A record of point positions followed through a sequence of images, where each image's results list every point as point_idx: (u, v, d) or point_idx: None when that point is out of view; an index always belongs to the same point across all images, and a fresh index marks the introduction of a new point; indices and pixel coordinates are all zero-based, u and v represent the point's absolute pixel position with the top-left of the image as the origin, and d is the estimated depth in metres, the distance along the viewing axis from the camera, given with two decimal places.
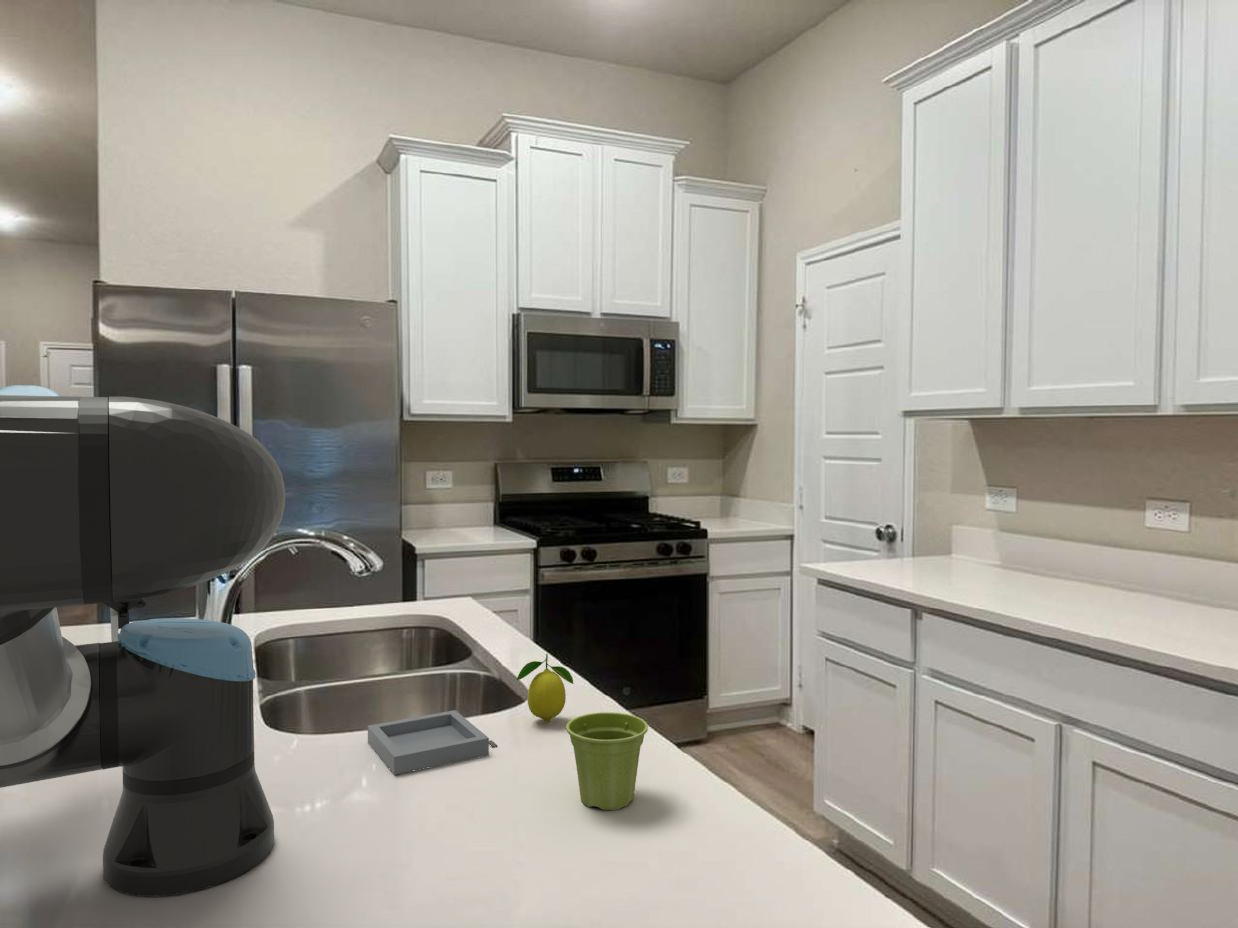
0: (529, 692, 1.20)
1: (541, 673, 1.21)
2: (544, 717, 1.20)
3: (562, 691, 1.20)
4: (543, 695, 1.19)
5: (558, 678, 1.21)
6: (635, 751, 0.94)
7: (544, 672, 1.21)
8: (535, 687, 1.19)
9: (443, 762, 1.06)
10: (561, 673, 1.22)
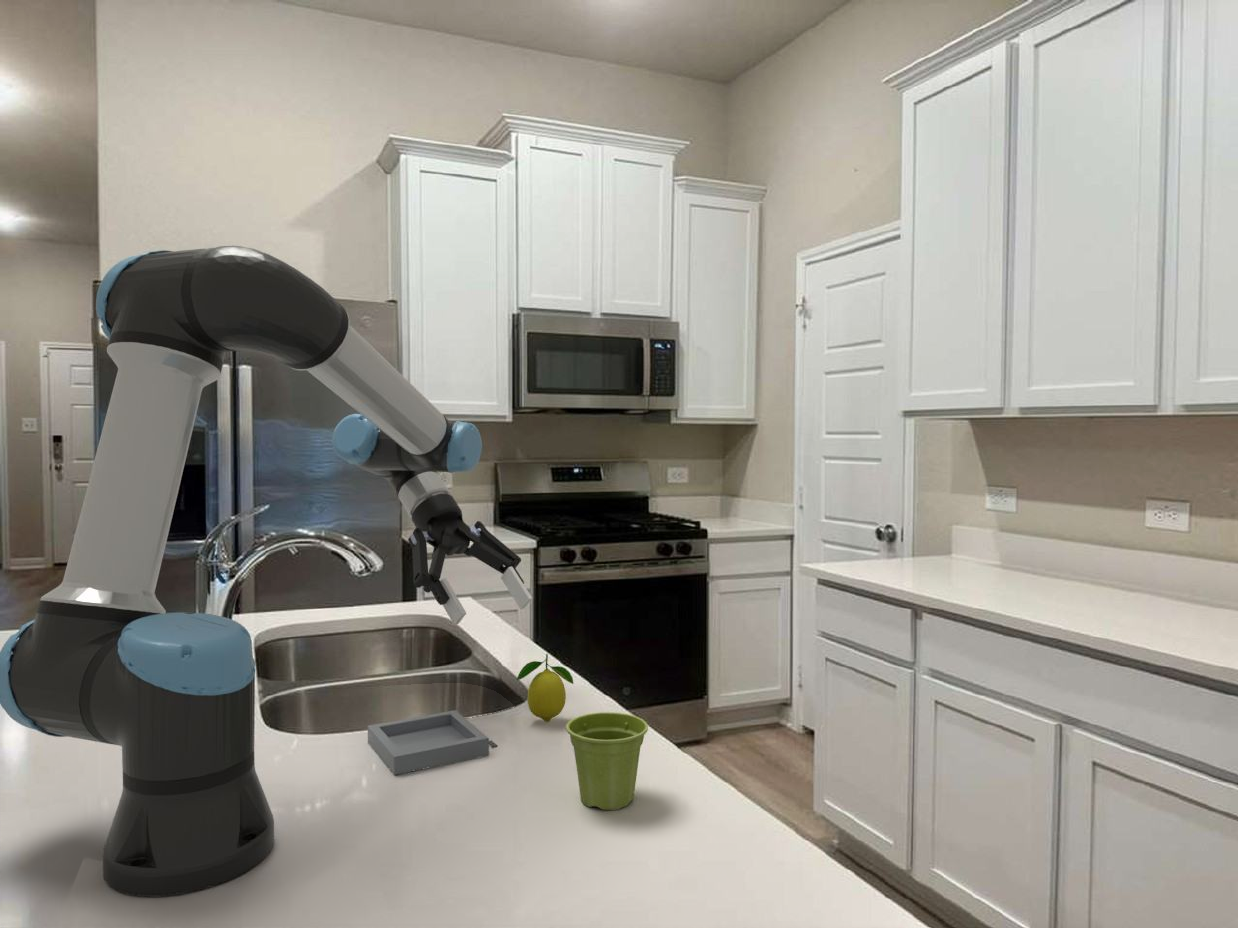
0: (529, 692, 1.20)
1: (541, 673, 1.21)
2: (544, 717, 1.20)
3: (562, 691, 1.20)
4: (543, 695, 1.19)
5: (558, 678, 1.21)
6: (635, 751, 0.94)
7: (544, 672, 1.21)
8: (535, 687, 1.19)
9: (443, 762, 1.06)
10: (561, 673, 1.22)
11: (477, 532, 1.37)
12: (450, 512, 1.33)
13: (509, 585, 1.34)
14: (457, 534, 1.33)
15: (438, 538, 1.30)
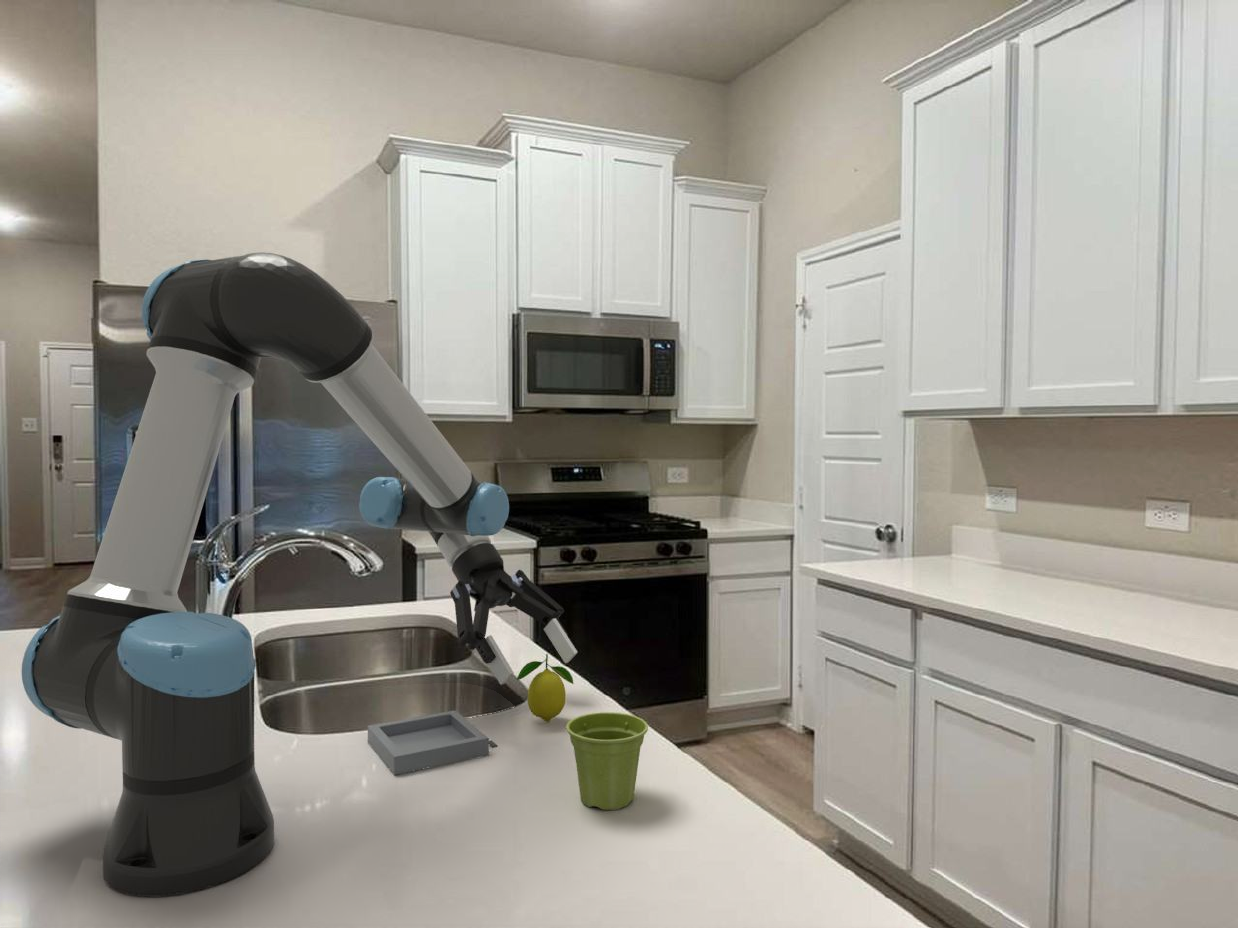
0: (529, 692, 1.20)
1: (541, 673, 1.21)
2: (544, 717, 1.20)
3: (562, 691, 1.20)
4: (543, 695, 1.19)
5: (558, 678, 1.21)
6: (635, 751, 0.94)
7: (544, 672, 1.21)
8: (535, 687, 1.19)
9: (443, 762, 1.06)
10: (561, 673, 1.22)
11: (518, 581, 1.33)
12: (492, 563, 1.28)
13: (553, 637, 1.30)
14: (499, 585, 1.29)
15: (480, 590, 1.26)
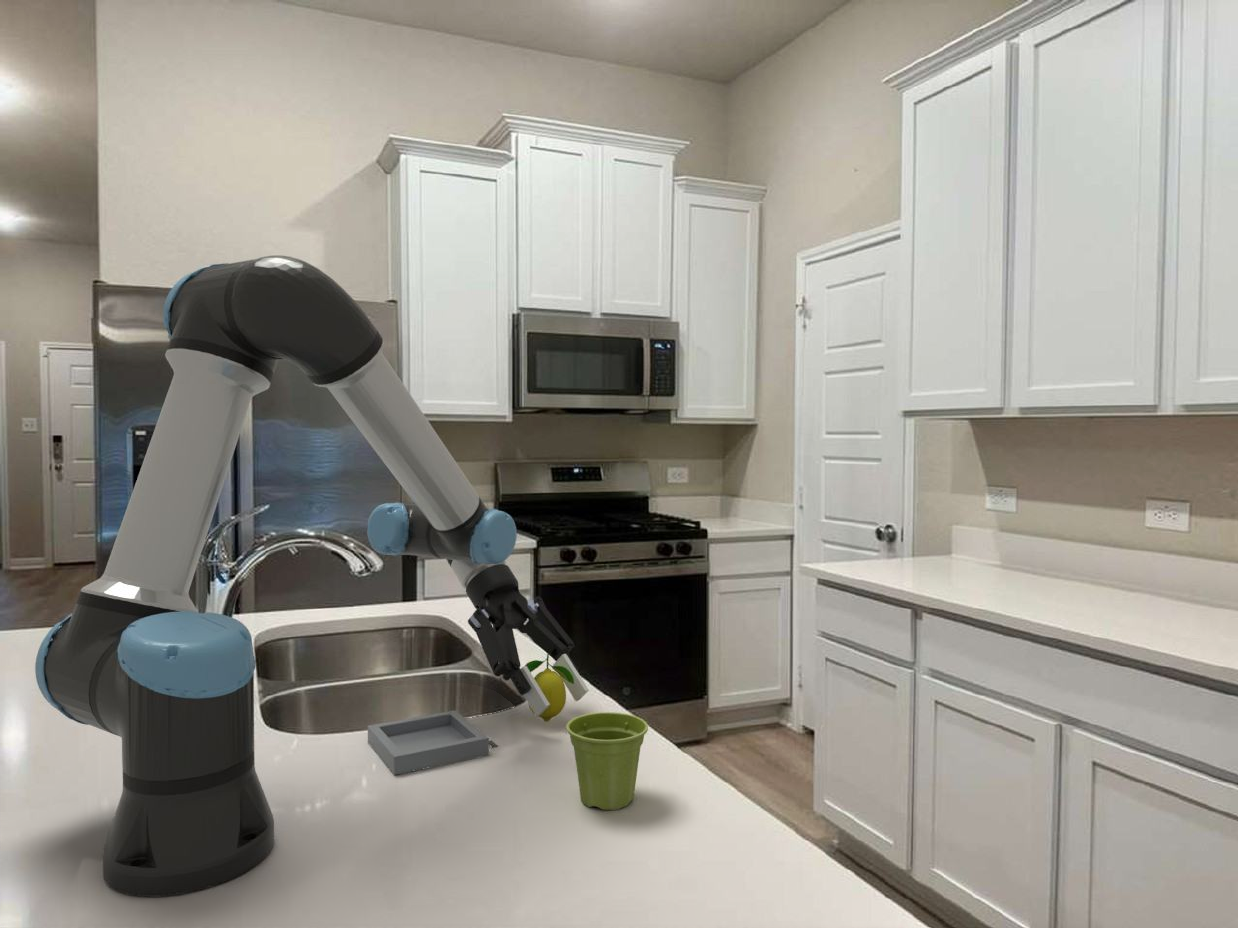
0: None
1: (542, 672, 1.21)
2: (544, 716, 1.20)
3: (563, 691, 1.20)
4: None
5: (559, 678, 1.21)
6: (635, 751, 0.94)
7: (545, 671, 1.21)
8: None
9: (443, 762, 1.06)
10: (562, 673, 1.22)
11: (534, 607, 1.29)
12: (507, 585, 1.25)
13: None
14: (513, 607, 1.25)
15: (495, 613, 1.22)
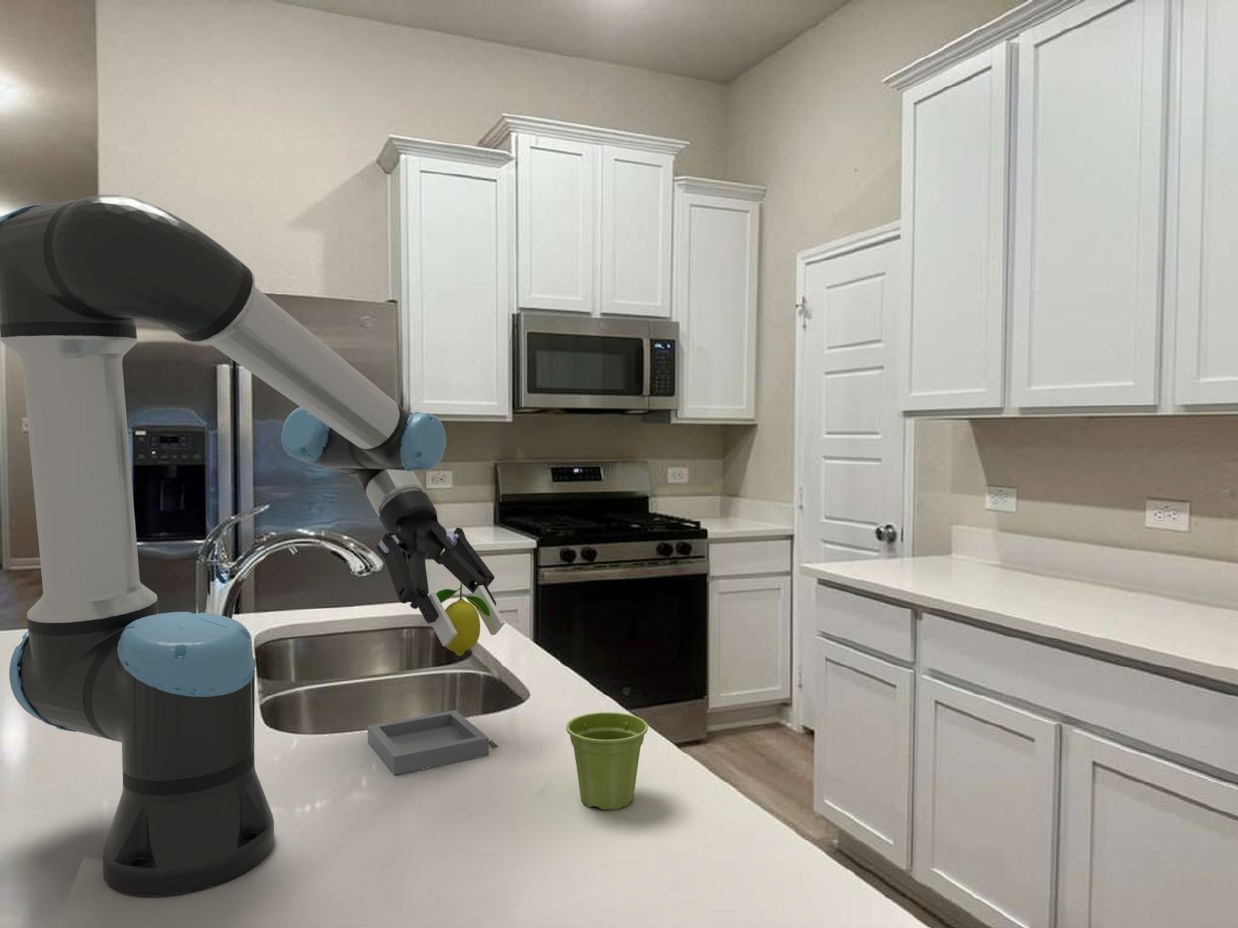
0: None
1: (454, 602, 1.13)
2: (455, 649, 1.12)
3: (476, 622, 1.12)
4: (454, 624, 1.11)
5: (472, 608, 1.13)
6: (635, 751, 0.94)
7: (458, 601, 1.13)
8: None
9: (443, 762, 1.06)
10: (477, 604, 1.14)
11: (453, 538, 1.21)
12: (422, 512, 1.18)
13: None
14: (429, 535, 1.18)
15: (407, 540, 1.15)
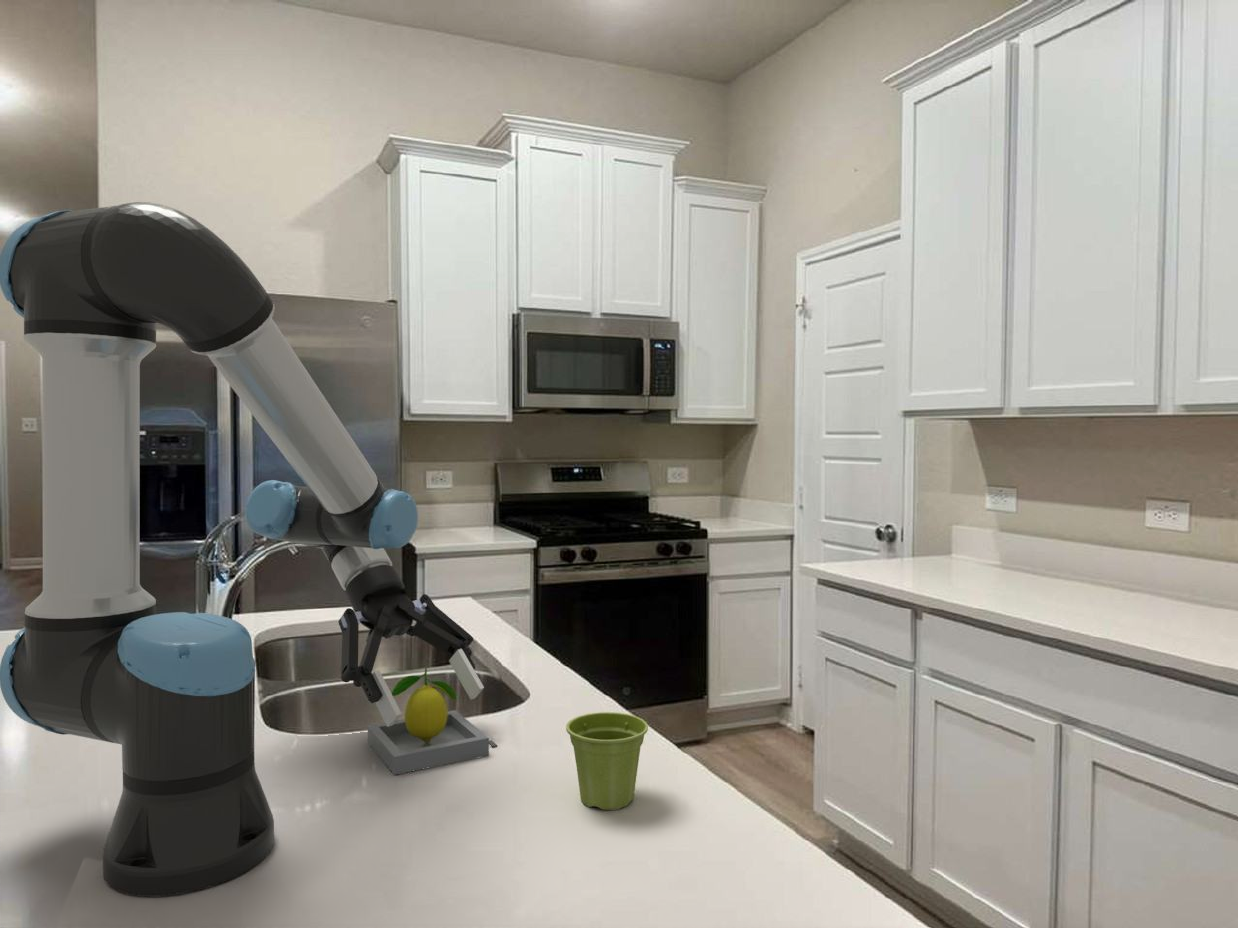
0: (406, 710, 1.10)
1: (419, 689, 1.10)
2: (422, 737, 1.09)
3: (442, 708, 1.10)
4: (419, 713, 1.08)
5: (438, 694, 1.10)
6: (635, 751, 0.94)
7: (422, 688, 1.10)
8: (411, 704, 1.09)
9: (443, 762, 1.06)
10: (443, 688, 1.12)
11: (422, 607, 1.19)
12: (389, 587, 1.15)
13: (458, 670, 1.16)
14: (397, 612, 1.15)
15: (373, 619, 1.12)
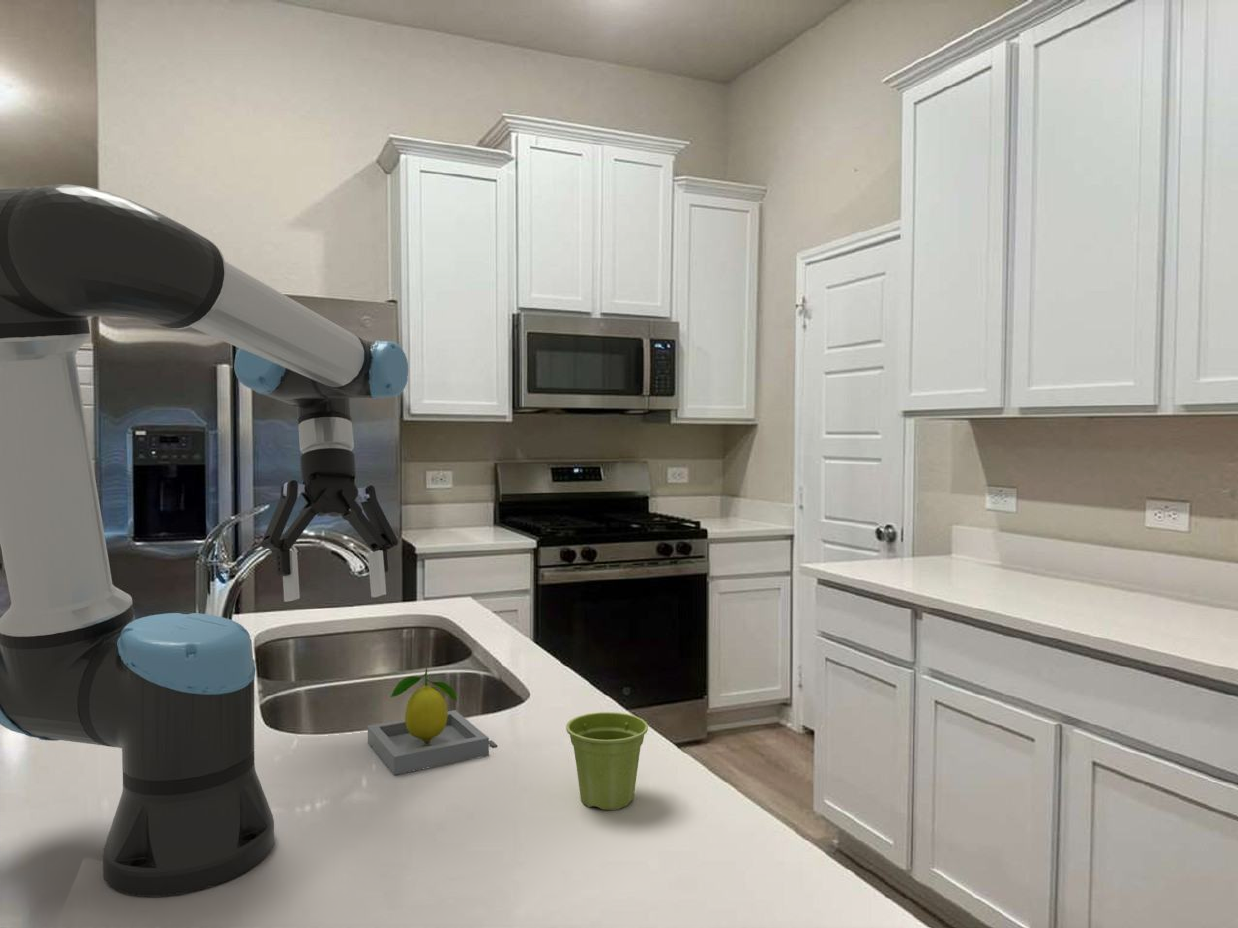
0: (406, 710, 1.10)
1: (420, 689, 1.10)
2: (422, 737, 1.09)
3: (442, 709, 1.10)
4: (419, 713, 1.08)
5: (438, 695, 1.10)
6: (635, 751, 0.94)
7: (423, 688, 1.10)
8: (411, 705, 1.09)
9: (443, 762, 1.06)
10: (443, 689, 1.11)
11: (364, 497, 1.24)
12: (339, 473, 1.19)
13: (371, 567, 1.24)
14: (338, 497, 1.21)
15: (313, 497, 1.18)
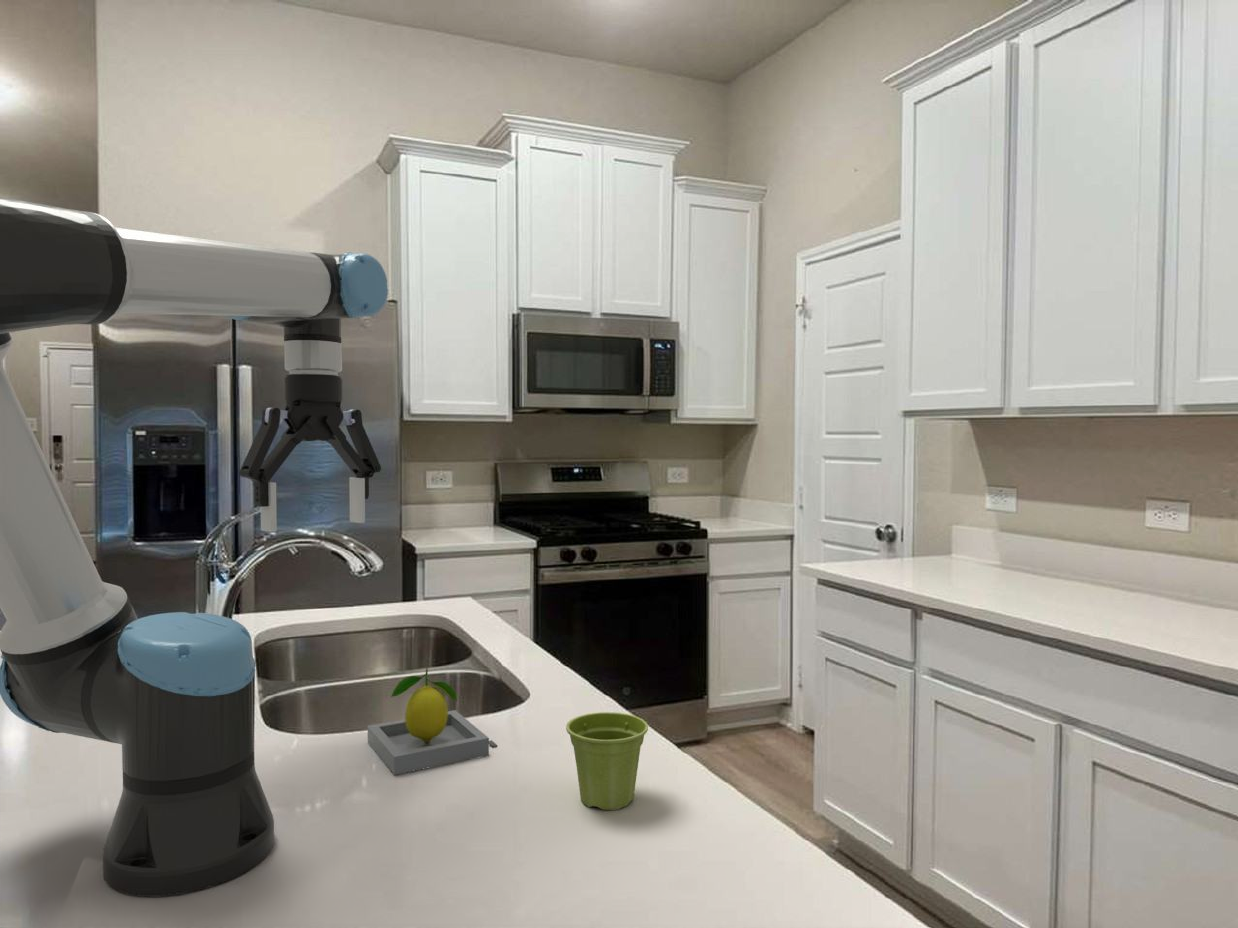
0: (406, 710, 1.10)
1: (420, 689, 1.10)
2: (422, 737, 1.09)
3: (442, 709, 1.10)
4: (419, 713, 1.08)
5: (438, 695, 1.10)
6: (635, 751, 0.94)
7: (423, 688, 1.10)
8: (412, 705, 1.09)
9: (443, 762, 1.06)
10: (443, 689, 1.11)
11: (350, 422, 1.20)
12: (324, 401, 1.14)
13: (352, 492, 1.22)
14: (322, 424, 1.16)
15: (296, 425, 1.13)
